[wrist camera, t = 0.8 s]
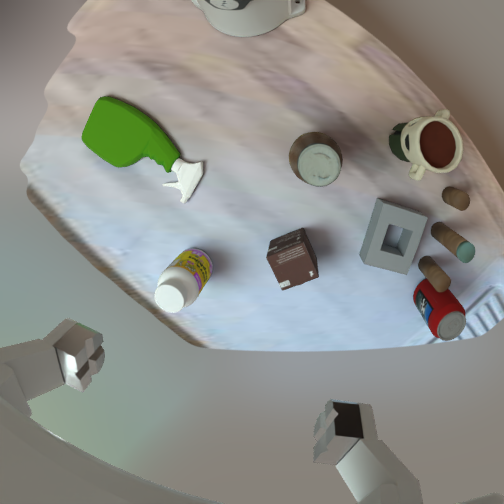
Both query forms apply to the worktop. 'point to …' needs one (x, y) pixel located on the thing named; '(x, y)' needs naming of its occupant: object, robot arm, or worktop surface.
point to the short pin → (456, 198)
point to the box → (292, 259)
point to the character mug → (428, 144)
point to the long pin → (453, 242)
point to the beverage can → (440, 311)
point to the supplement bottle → (183, 280)
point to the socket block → (408, 243)
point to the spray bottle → (136, 142)
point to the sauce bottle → (315, 159)
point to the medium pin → (434, 274)
